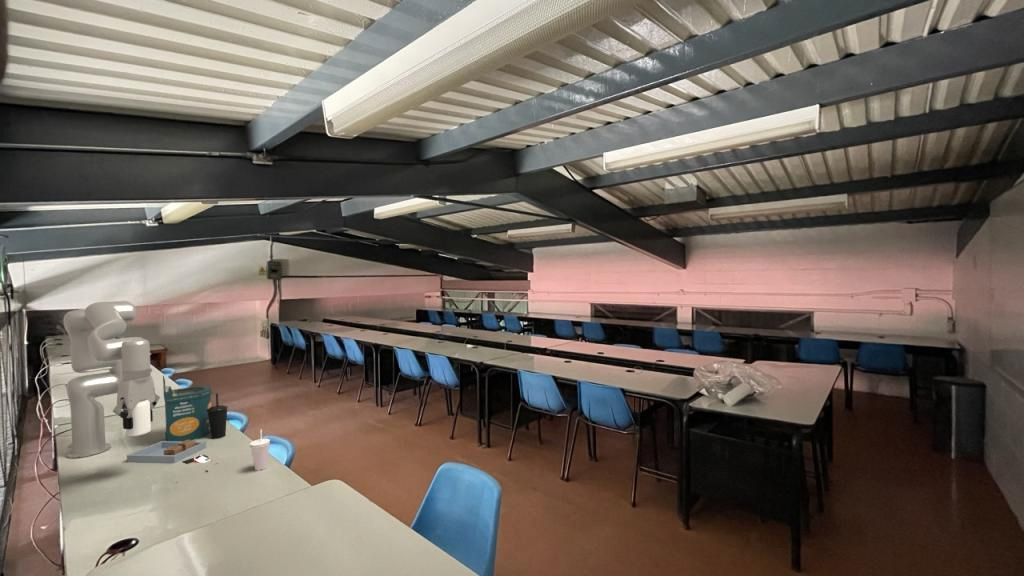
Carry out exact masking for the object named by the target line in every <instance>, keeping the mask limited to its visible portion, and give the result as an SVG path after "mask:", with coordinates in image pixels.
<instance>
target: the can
mask: <svg viewBox="0 0 1024 576" xmlns="http://www.w3.org/2000/svg"><path fill="white" fill-rule="evenodd" d="M126 408H127V407H126ZM127 413H128V410H127ZM131 417H133V429H125V434H126V435H125V436H126V437H129V438H130V437H131V438H133V437H139V436H144V435H147V434H149V433H150V432H151V430H152V422H151V419H150V402H149V401H148V399H146V400H143V401H139V403H138V404H137V406H136V408H134V409H133V412H132V415H131Z"/></svg>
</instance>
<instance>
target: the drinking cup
mask: <svg viewBox="0 0 1024 576" xmlns="http://www.w3.org/2000/svg"><path fill="white" fill-rule="evenodd" d="M228 408H229V406H228V405H225V404H219V393H215V405H211V407H210V408H209V409H207V412H208V418H209V424H210V431H211V434H210V436H211V439H212V440H217V439H222V438H224V437H226V431H227V421H228V420H227V416H228Z"/></svg>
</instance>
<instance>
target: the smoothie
mask: <svg viewBox="0 0 1024 576" xmlns="http://www.w3.org/2000/svg"><path fill="white" fill-rule="evenodd" d="M270 443H271V440H270V439H269V438H263V429H262V428H261V429H259V439H256V440H253V441H251V442H250V443H249V448H250V449H251V450H250V451H251V456H252V460H253V466H254V470H255V471H262V470H261V469H263V470H265V469H266V467H268V459H269V449H270V447H269V446H270ZM264 468H265V469H264Z"/></svg>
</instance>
